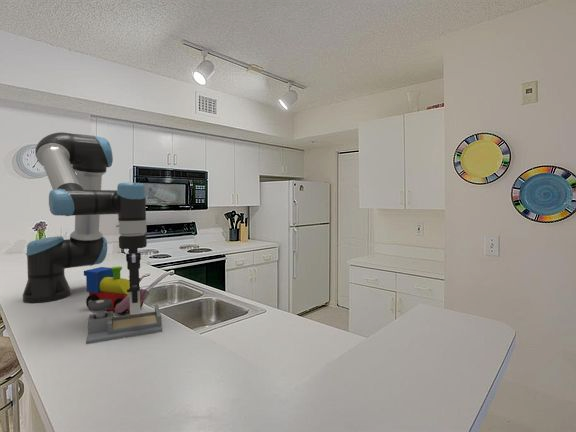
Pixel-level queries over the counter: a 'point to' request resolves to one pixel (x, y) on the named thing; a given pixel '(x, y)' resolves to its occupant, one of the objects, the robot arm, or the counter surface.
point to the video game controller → (126, 301)
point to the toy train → (106, 286)
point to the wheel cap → (100, 306)
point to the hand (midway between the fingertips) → (134, 307)
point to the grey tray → (122, 325)
